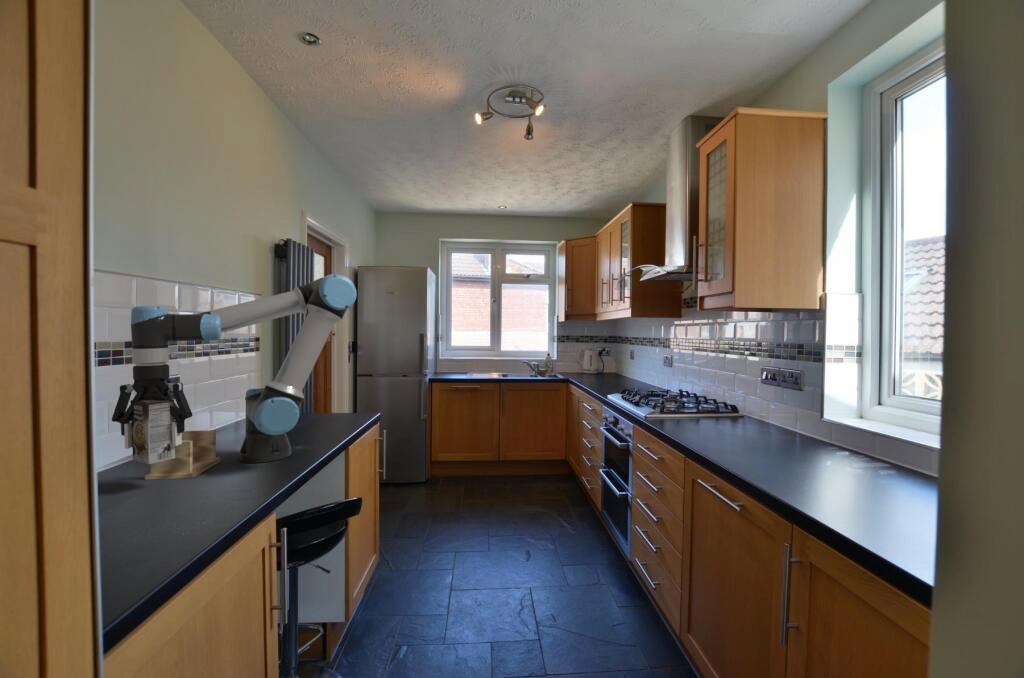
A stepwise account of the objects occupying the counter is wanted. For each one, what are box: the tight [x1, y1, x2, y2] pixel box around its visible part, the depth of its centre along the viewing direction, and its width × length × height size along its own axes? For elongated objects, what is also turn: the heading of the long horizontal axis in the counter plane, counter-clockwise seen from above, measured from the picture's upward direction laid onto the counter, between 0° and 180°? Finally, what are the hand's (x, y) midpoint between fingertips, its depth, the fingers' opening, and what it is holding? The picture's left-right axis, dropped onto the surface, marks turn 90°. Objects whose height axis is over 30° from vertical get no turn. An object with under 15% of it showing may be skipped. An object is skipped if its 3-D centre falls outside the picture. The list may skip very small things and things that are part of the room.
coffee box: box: [130, 398, 176, 465], centre depth 116 cm, size 9×6×16 cm
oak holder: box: [144, 429, 221, 480], centre depth 130 cm, size 12×16×10 cm
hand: (154, 446), depth 116 cm, fingers closed on coffee box, 11 cm apart
